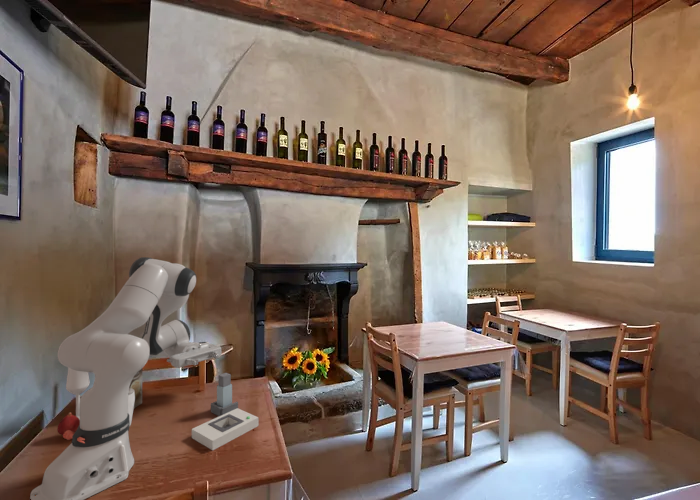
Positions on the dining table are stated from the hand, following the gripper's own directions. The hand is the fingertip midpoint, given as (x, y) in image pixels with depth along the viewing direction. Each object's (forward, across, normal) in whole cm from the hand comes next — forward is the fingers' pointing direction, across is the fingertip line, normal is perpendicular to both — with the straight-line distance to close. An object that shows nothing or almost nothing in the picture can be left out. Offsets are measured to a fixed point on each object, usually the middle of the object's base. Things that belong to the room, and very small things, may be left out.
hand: (207, 359), depth 138 cm
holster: (+12, 0, +17) cm, 21 cm away
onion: (-14, -42, +17) cm, 47 cm away
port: (+26, -9, +17) cm, 32 cm away
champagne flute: (-24, -36, +18) cm, 47 cm away
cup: (-7, -29, +18) cm, 35 cm away
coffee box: (-21, -22, +18) cm, 35 cm away
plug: (+12, 0, +17) cm, 21 cm away
